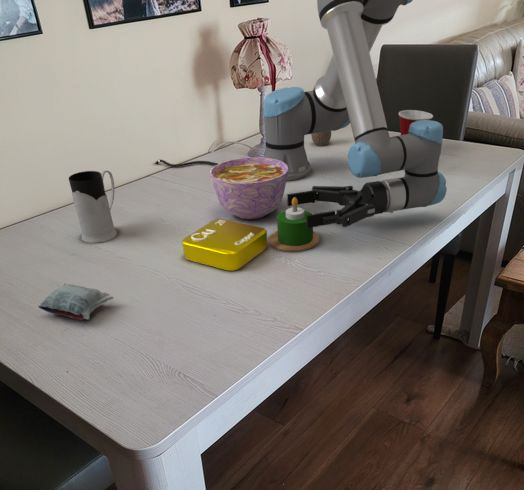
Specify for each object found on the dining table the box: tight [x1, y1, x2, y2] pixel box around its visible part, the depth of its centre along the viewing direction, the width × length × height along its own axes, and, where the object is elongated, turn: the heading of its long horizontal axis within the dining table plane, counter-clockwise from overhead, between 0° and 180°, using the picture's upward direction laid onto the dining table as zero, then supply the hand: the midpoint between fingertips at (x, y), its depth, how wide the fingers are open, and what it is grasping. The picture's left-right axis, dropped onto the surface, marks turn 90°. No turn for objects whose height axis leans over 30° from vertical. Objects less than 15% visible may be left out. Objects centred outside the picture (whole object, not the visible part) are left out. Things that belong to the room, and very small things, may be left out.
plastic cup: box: [398, 109, 434, 135], centre depth 174 cm, size 11×11×12 cm
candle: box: [276, 197, 314, 246], centre depth 125 cm, size 8×8×10 cm
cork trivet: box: [268, 230, 320, 253], centre depth 128 cm, size 12×12×1 cm
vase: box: [310, 131, 332, 147], centre depth 187 cm, size 7×7×9 cm
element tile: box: [181, 218, 268, 272], centre depth 123 cm, size 15×15×5 cm
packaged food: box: [37, 283, 114, 321], centre depth 105 cm, size 9×12×5 cm
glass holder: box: [68, 170, 118, 244], centre depth 133 cm, size 9×14×15 cm, turn 158°
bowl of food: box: [209, 156, 289, 220], centre depth 139 cm, size 20×20×12 cm
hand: (296, 210), depth 124 cm, fingers open, 13 cm apart
